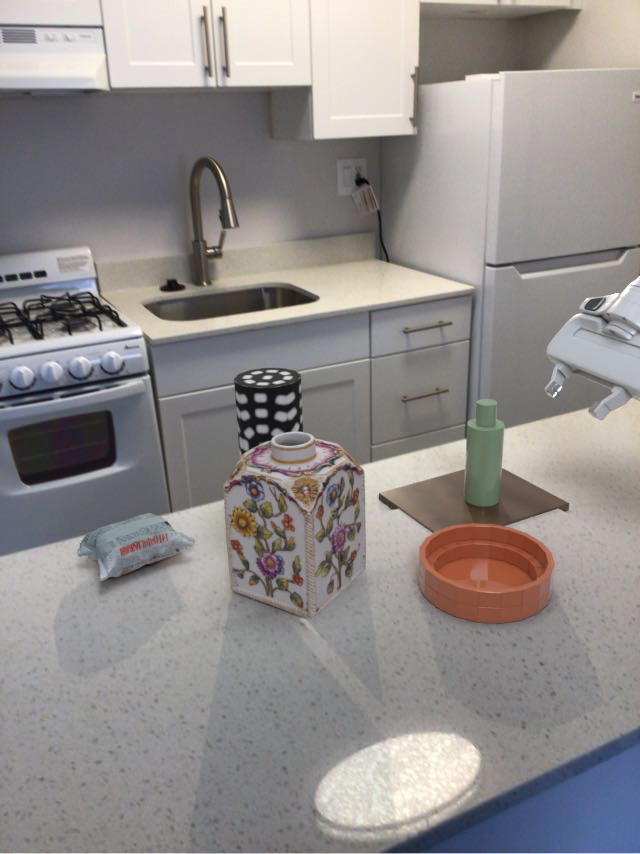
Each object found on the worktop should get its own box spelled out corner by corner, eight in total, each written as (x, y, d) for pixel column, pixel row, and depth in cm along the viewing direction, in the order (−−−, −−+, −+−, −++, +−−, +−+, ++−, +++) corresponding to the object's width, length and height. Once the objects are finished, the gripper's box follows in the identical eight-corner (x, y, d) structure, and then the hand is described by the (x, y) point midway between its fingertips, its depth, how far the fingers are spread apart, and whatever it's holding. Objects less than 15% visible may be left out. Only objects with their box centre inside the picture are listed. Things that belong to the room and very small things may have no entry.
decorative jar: (313, 625, 79) (307, 469, 73) (227, 593, 85) (214, 446, 79) (369, 571, 89) (368, 429, 82) (288, 546, 95) (281, 411, 88)
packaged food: (196, 560, 92) (192, 524, 90) (102, 595, 86) (96, 557, 84) (165, 533, 99) (161, 499, 97) (76, 564, 92) (70, 528, 91)
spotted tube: (253, 504, 106) (243, 367, 98) (311, 507, 104) (306, 368, 97) (237, 533, 98) (225, 387, 91) (300, 537, 97) (293, 388, 89)
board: (490, 467, 115) (490, 461, 114) (569, 509, 101) (569, 503, 101) (378, 499, 106) (378, 492, 106) (448, 549, 93) (448, 542, 92)
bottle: (484, 488, 106) (489, 393, 101) (507, 501, 102) (513, 403, 97) (456, 496, 104) (460, 400, 99) (479, 510, 100) (484, 410, 95)
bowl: (491, 544, 93) (493, 512, 92) (579, 603, 82) (583, 567, 80) (393, 577, 87) (394, 543, 86) (473, 646, 75) (475, 608, 74)
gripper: (712, 357, 92) (638, 444, 93) (600, 323, 110) (539, 396, 111) (687, 326, 89) (611, 416, 90) (577, 296, 108) (514, 371, 108)
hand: (570, 405), depth 101 cm, fingers open, 8 cm apart
